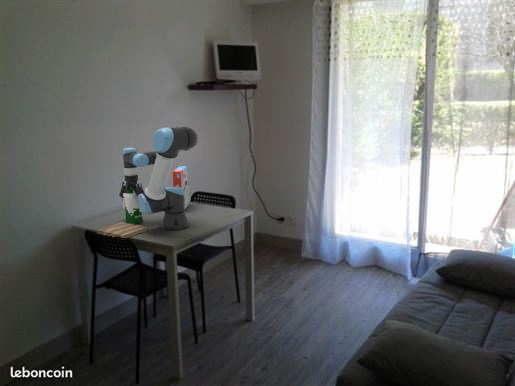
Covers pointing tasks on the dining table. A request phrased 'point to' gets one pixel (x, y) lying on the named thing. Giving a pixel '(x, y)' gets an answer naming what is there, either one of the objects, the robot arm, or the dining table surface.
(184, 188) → the game box
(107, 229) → the wooden cutting board
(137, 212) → the soya milk
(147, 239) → the dining table surface
